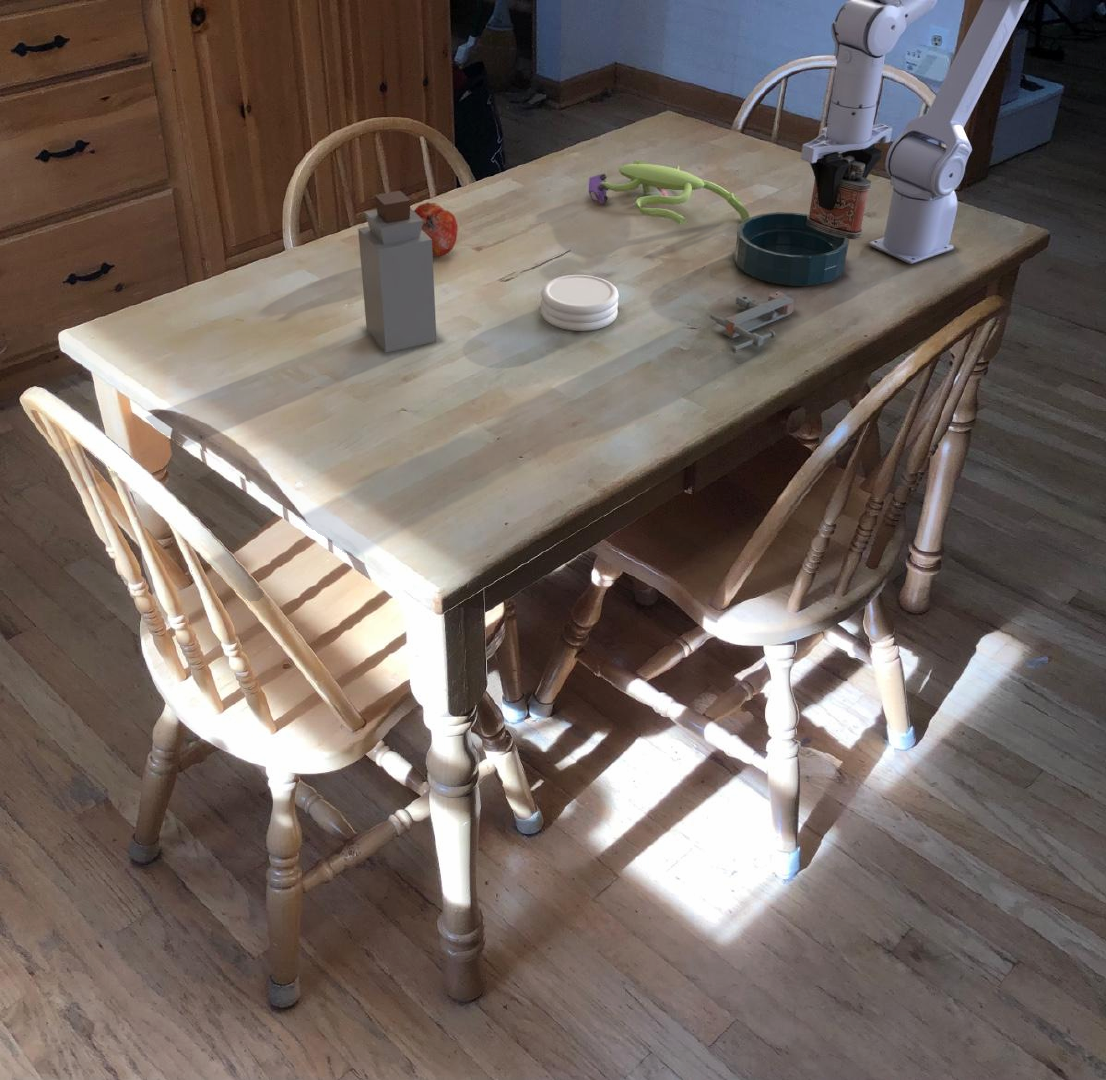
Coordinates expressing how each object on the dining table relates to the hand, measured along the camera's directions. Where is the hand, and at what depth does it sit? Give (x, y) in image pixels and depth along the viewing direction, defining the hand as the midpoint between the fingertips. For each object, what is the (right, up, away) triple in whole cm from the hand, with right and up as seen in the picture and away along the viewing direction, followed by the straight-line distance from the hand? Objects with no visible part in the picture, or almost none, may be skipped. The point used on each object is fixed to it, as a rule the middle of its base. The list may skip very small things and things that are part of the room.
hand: (837, 204), depth 164 cm
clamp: (-13, -18, -6) cm, 23 cm away
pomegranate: (-55, -4, +10) cm, 56 cm away
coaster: (-35, -16, -4) cm, 38 cm away
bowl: (-5, -6, +9) cm, 12 cm away
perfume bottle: (-57, -19, -9) cm, 61 cm away
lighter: (0, -3, +2) cm, 4 cm away
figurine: (-21, +6, +24) cm, 33 cm away
